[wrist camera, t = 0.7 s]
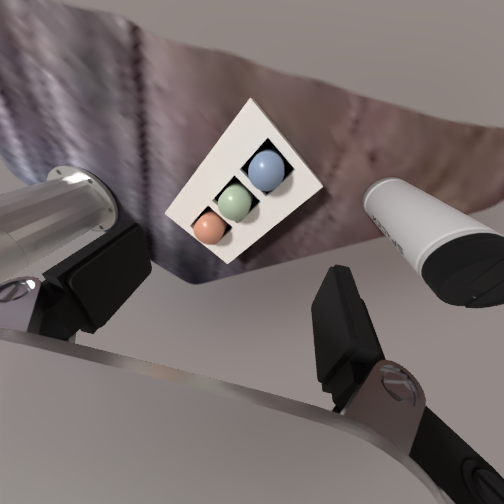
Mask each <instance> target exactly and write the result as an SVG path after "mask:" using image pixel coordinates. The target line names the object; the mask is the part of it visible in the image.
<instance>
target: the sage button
mask: <svg viewBox="0 0 504 504" xmlns="http://www.w3.org/2000/svg"><path fill="white" fill-rule="evenodd" d="M252 200H253V195H252V192H251V191H250V190H249V189H248V188H247V187H246V186H245V185H244V184H243V183H240V182H235V183H232V184H230V185H229V186H228V187H227V188H226V189H225V191H224V192H223V193H222V195H221V196H220V197H219V200H218V208H219V211H220V213H221V214H222V215H223V216H224V217H225V218H227V219H229V220H232V221H239V220H241V219H243V218H245V217H246V215H247V214H248V212H249V209H250V206H251V204H252Z"/></svg>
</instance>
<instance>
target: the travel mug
mask: <svg viewBox="0 0 504 504" xmlns="http://www.w3.org/2000/svg"><path fill="white" fill-rule="evenodd" d="M362 206H363V209H364V211H365V212H366V213H367V214H368V215H369V217H370V218H371V219H372V220H373V221H374V223H375V224H376V225H377V226H378V227H379V229H380V230H381V231H382V232H383V233H384V234H385V236H386V237H387V238H388V239H389V240H390V242H391V243H392V244H393V245H394V246H395V247H396V249H397V250H398V251H399V252H400V254H401V255H402V256H403V257H404V258H405V260H406V261H407V262H408V263H409V264H410V265H411V267H412V268H413V269H414V270H415V272H416V273H417V274H418V275H419V276H420V277H421V279H422V280H423V281H424V282H425V283H426V284H428V286H429V287H430V288H431V289H432V291H433V292H434V293H435V294H436V295H437V297H438V298H439V299H441V300H442V301H444V302H445V303H448V304H451V305H456V306H465V307H466V308H484V307H491V306H497V305H501V304H504V236H503V235H501V234H499V233H497V232H495V231H494V230H492V229H490V228H489V227H487V226H485V225H483V224H481V223H479V222H478V221H476V220H474V219H472V218H470V217H469V216H467V215H465V214H463V213H461V212H460V211H458V210H456V209H454V208H452V207H451V206H449V205H447V204H445V203H443V202H441V201H440V200H438V199H436V198H434V197H432V196H431V195H429V194H427V193H425V192H423V191H422V190H420V189H418V188H416V187H414V186H412V185H411V184H409V183H407V182H405V181H403V180H402V179H399V178H396V177H388V178H383V179H381V180H378V181H377V182H375V183H374V184H372V185H371V186H370V187H369V188H368V189H367V191H366V192H365V194H364V196H363V200H362Z"/></svg>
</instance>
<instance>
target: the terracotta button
mask: <svg viewBox="0 0 504 504" xmlns="http://www.w3.org/2000/svg"><path fill="white" fill-rule="evenodd" d="M226 227H227V222H226V221H225V220H224V219H223V218H222V217H221V216H219V215H218V214H217V213H216V212H215V211H214V210H213V209H211V210H207V211H206V212H205V213H204V214H203V215H202V216H201V217H200V219H199V220H198V221H197V222H196V224H195V225H194V234H195V236H196V238H197V239H198V240H199V241H200V242H202V243H204V244H207V245H213V244H216V243H218V242H219V241H220V239H221V237H222V235H223V233H224V231H225V229H226Z"/></svg>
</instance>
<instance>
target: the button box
mask: <svg viewBox="0 0 504 504" xmlns="http://www.w3.org/2000/svg"><path fill="white" fill-rule="evenodd" d="M267 138H269V139H270V140H271V142H272V143H273V144H274V145H275V146H276V147H277V149H278V150H279V151H280V152H281V153H282V155H283V156H284V157H285V158H286V159H287V160H288V162H289V163H290V164H291V165H292V166H293V168H294V170H293V171H292V172H291V173H290V174H289V175H288V176H287V177H286V178H284V179H283V180H282V182H281V184H280V185H279V186H278V187H277V188H275V189H273V190H272V191H271V192H270V193H268V194H266V193H265V192H264V191H261V190H259V189H257V188H255V187H254V186H253V185H252V183H251V182H250V179H249V176H248V175H247V174H246V173H245V172H244V171H243V170H242V168H241V167H242V166H243V165H244V164H245V163H246V162H247V160H248V159H249V158H250V157H251V156H252V155H253V154H254V152H255V151H256V150H257V149H258V148H259V147H260V146H261V145H262V143H263V142H264V141H265V140H266V139H267ZM234 175H235V176H236V177H237V178H238V179H239V180H240V181H241V182H242V183H243V184H244V185H245V186H246V187H247V188H248V189H249V190H250V191H251V192H252V193H253V194H254V195H255V196H256V197H257V198H258V199H259V200H260V202H259V203H258V204H257V205H256V206H255V207H254V208H252V209H251V210H250V211H249V212H248V214H247V215H246V217H245V218H243V219H241V220H240V221H232V220H229V219H227V218H225V217H224V216H223V215H222V214H221V213H220V211H219V208H218V202H217V201H216V200H215V199H214V198H215V197H216V195H217V194H218V193H219V192H220V191H221V190H222V189H223V188H224V186H225V185H226V184H227V183H228V182H229V181H230V180H231V179H232V177H233V176H234ZM322 187H323V185H322V183H321V182H320V180H319V178H318V177H317V176H316V175H315V173H314V172H313V171H312V170H311V168H310V167H309V166H308V165H307V164H306V162H305V161H304V160H303V159H302V157H301V156H300V155H299V154H298V152H297V151H296V150H295V149H294V148H293V146H292V145H291V144H290V143H289V141H288V140H287V139H286V138H285V137H284V135H283V134H282V133H281V132H280V130H279V129H278V128H277V127H276V125H275V124H274V123H273V122H272V121H271V119H270V118H269V117H268V116H267V114H266V113H265V112H264V111H263V110H262V108H261V107H260V106H259V105H258V103H257V102H256V101H255V100H254V99H252V98H250V99H249V100H248V102H247V103H246V104H245V106H244V107H243V108H242V110H241V111H240V112H239V114H238V115H237V116H236V118H235V119H234V120H233V122H232V123H231V125H230V126H229V127H228V129H227V130H226V131H225V133H224V134H223V135H222V137H221V138H220V139H219V141H218V142H217V143H216V145H215V146H214V147H213V149H212V150H211V151H210V153H209V154H208V156H207V157H206V158H205V160H204V161H203V162H202V164H201V165H200V166H199V168H198V169H197V170H196V172H195V173H194V174H193V176H192V177H191V178H190V180H189V181H188V182H187V184H186V185H185V187H184V188H183V189H182V191H181V192H180V193H179V195H178V196H177V197H176V199H175V200H174V201H173V203H172V204H171V205H170V207H169V208H168V209H167V211H166V212H165V214H166V215H167V216H168V217H170V218H171V219H172V220H173V221H175V222H176V223H177V224H178V225H180V226H181V227H182V228H183V229H185V230H186V231H187V232H188V233H190V234H191V235H192V236H193V237H195V238H196V236H195V234H194V225H195V224H196V222H197V221H198V220H199V219H197V217H198V216H199V215H200V214H201V212H202V211H203V210H204V209H205V208H206V207H207V206H209V207H210V208H212V209H213V210H214V211H215V212H216V213H217V214H218V215H219V216H221V217H222V218H223V219H224V220H225V221H226V222H227V223H228V224H230V225H231V226H232V228H231V229H230V230H229V231H228V232H227V233H226V234H225V235H224V236H223V237H221V239H220V241H219V242H218V243H216V244H213V245H207V244H204V243H202V242H201V243H202V244H203V245H205V246H206V247H207V248H208V249H210V250H211V251H212V252H213V253H215V254H216V255H217V256H218V257H219V258H221V259H222V260H223V261H224V262H226V263H227V264H228V263H229V262H231V261H232V260H233V259H234V258H236V257H237V256H238V255H239V254H241V253H242V252H243V251H244V250H246V249H247V248H248V247H249V246H250V245H252V244H253V243H254V242H255V241H257V240H258V239H259V238H260V237H262V236H263V235H264V234H265V233H267V232H268V231H269V230H270V229H271V228H273V227H274V226H275V225H276V224H278V223H279V222H280V221H281V220H283V219H284V218H285V217H286V216H288V215H289V214H290V213H291V212H292V211H294V210H295V209H296V208H297V207H299V206H300V205H301V204H302V203H304V202H305V201H306V200H307V199H309V198H310V197H311V196H312V195H314V194H315V193H316V192H317V191H318V190H320V189H321V188H322ZM196 239H197V238H196ZM197 240H198V239H197ZM198 241H199V240H198Z"/></svg>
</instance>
